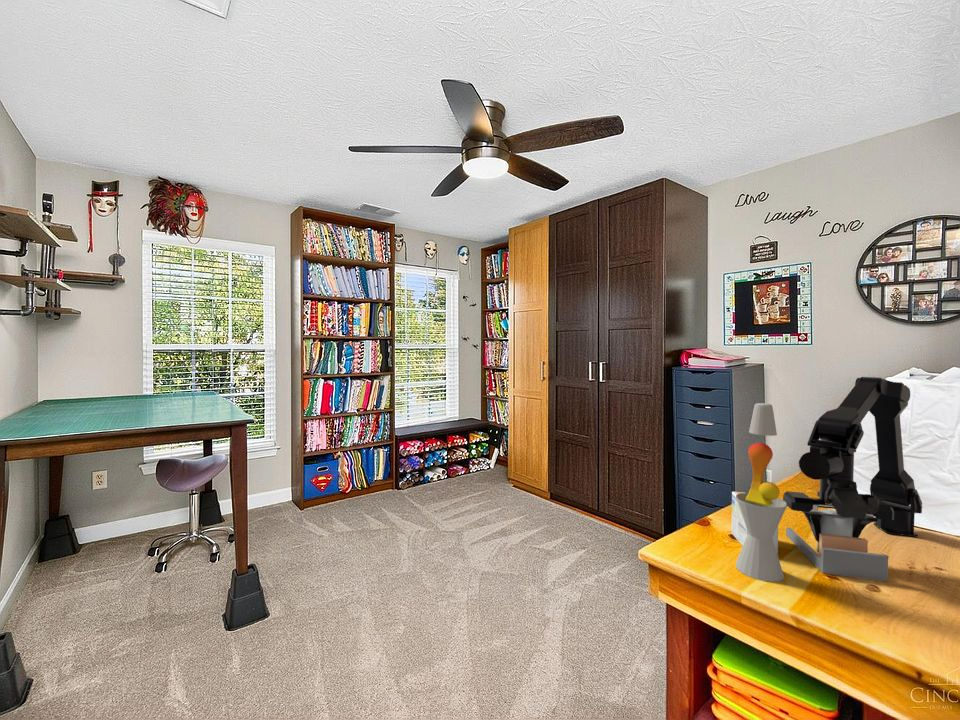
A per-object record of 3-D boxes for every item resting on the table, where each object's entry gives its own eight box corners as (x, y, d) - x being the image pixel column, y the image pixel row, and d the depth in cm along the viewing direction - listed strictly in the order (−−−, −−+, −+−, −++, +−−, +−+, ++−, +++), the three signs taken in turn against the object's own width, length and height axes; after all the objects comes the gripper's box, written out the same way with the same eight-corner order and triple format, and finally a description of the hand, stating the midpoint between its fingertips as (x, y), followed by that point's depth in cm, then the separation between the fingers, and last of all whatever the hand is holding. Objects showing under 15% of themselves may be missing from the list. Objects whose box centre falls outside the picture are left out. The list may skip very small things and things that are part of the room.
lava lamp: (726, 568, 93) (730, 402, 92) (744, 556, 99) (749, 400, 98) (775, 587, 86) (780, 407, 85) (792, 573, 92) (796, 404, 91)
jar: (843, 550, 100) (844, 511, 100) (857, 562, 95) (858, 520, 94) (812, 546, 102) (813, 508, 102) (824, 558, 96) (825, 517, 96)
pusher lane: (837, 540, 108) (838, 520, 108) (887, 581, 89) (888, 556, 89) (785, 535, 111) (786, 515, 111) (822, 573, 92) (823, 549, 92)
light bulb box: (778, 554, 100) (780, 507, 100) (746, 551, 101) (747, 505, 101) (759, 535, 110) (760, 492, 110) (729, 533, 112) (730, 490, 112)
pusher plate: (863, 566, 94) (864, 538, 94) (867, 568, 93) (867, 540, 93) (818, 560, 97) (819, 533, 96) (821, 563, 95) (822, 535, 95)
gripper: (802, 479, 93) (800, 553, 93) (912, 488, 88) (909, 566, 88) (782, 466, 104) (781, 532, 104) (879, 473, 98) (877, 543, 99)
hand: (834, 543), depth 98 cm, fingers closed on jar, 6 cm apart
